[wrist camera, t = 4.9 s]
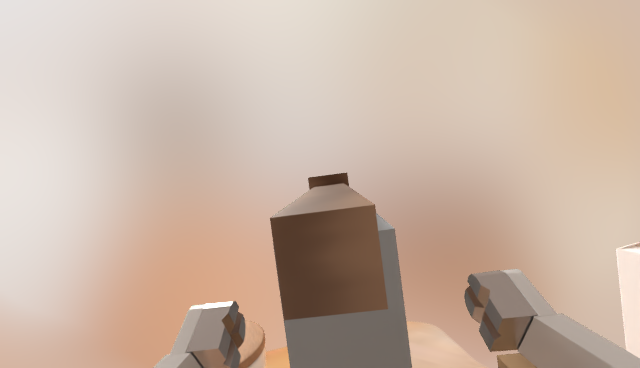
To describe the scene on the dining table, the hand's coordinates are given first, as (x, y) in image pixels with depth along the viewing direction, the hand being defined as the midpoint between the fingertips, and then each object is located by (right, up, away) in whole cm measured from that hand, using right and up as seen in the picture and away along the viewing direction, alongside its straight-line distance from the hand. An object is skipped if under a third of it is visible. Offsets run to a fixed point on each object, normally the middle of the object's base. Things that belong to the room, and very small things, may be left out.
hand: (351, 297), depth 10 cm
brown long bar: (0, +1, +10) cm, 10 cm away
